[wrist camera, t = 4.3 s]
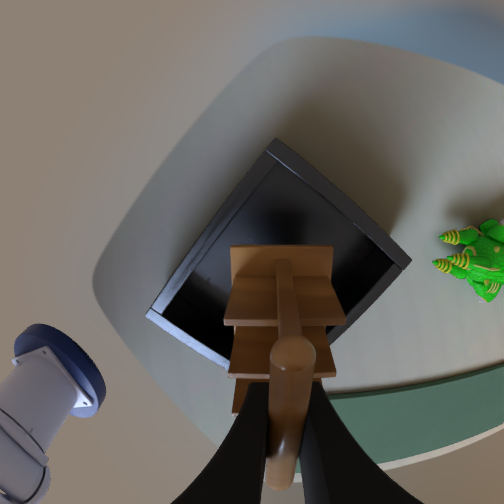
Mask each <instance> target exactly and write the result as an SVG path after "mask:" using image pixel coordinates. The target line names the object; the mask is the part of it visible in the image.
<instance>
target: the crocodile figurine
mask: <svg viewBox="0 0 504 504" xmlns="http://www.w3.org/2000/svg"><path fill="white" fill-rule="evenodd" d="M470 227H472V228H474V229H471V228H470ZM479 228H480V230H481V232H480V231H479V230H477V229H476V228H475V227H473V226H469V227H466V228H465V229H461V230H460V231H457V230H456V229H453V230H452V231H449V232H448V231H446V232H445V233H443V234H442V235H440V236H439V238H440V239H442V240H443V241H444V242H447V243H450V244H454V245H457V244H458V243H462V244H466V246H465V248H464V250H463V253H460V254H458V253H457V254H452V256H447V259H436V260H435V261H432V263H433V264H434V265H435V267H437V269H439V270H440V271H442V272H443V273H450V274H452V275H453V276H455V277H456V278H460V279H464V278H466V279H467V281H468V282H469V284H470V285H471V286H473V287H474V289H475V291H476V293H477V294H478V295H477V298H478V300H479V301H480V302H482V303H484V302H490V301H492V300H493V299H494V298H495V297H496V295H497V294H498V292H499V290H500V289H501V286H502V285H504V218H503V219H501V220H500V221H499V223H498V222H497V221H496V220H494V219H491V220H488V221H486V222H484V223H483V224H482V225H481V226H480V227H479ZM466 229H467V230H466ZM462 230H463V231H462ZM477 231H478V232H477ZM479 234H480V236H481V237H479Z"/></svg>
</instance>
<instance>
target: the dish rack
mask: <svg viewBox="0 0 504 504" xmlns="http://www.w3.org/2000/svg"><path fill="white" fill-rule="evenodd" d="M333 249H334V248H333V246H332V245H231V247H230V256H231V279H232V289H231V292H230V296H229V300H228V304H227V308H226V312H225V316H224V325H225V326H234V342H233V347H232V353H231V358H230V364H229V370H228V377H229V378H236V385H235V392H234V399H233V407H232V416H235V417H237V415H238V413H239V411H240V409H241V406H242V404H243V402H244V399H245V396H246V393H247V390H248V385H249V384H250V383H251V382H269V406H268V433H267V457H266V477H265V480H266V484H267V485H268V487H269V488H271V489H273V490H276V491H282V490H285V489H287V488H289V487H290V486H291V484H292V483H293V479H294V475H295V470H296V466H297V461H298V457H299V452H300V447H301V443H302V438H303V432H304V427H305V422H306V417H307V411H308V405H309V399H310V393H311V387H312V381H319V382H320V383H321V384H322V380H321V378H326V377H336V368H335V364H334V360H333V357H332V353H331V349H330V346H329V342H328V339H327V335H326V332H325V327H326V326H330V325H345V324H346V316H345V314H344V312H343V309H342V307H341V305H340V302H339V300H338V298H337V295H336V293H335V291H334V289H333V286H332V284H331V273H332V262H333ZM322 387H323V385H322Z"/></svg>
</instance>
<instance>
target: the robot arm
mask: <svg viewBox="0 0 504 504" xmlns="http://www.w3.org/2000/svg"><path fill="white" fill-rule="evenodd" d="M12 362H13V364H14V365H15V366H16V368H15V369H14V370H13V371H12V372H11V373H10V374H9V375H8V376H7V377H6V378H5V380H4V381H3V382H2V383H1V384H0V489H1V490H2V491H4V492H5V493H6V494H2V493H0V504H38V503H39V502H40V501H41V500H42V499H43V498H44V496H45V495H46V493H47V491H48V489H49V486H50V481H51V477H50V470H49V468H48V466H47V465H46V463H47V462H48V460H49V458H48V457H47V456H46V455H45V453H46V451H47V449H48V447H49V446H50V444H51V442H52V441H53V439H54V438H55V436H56V434H57V433H58V431H59V429H60V428H61V426H62V425H63V423H64V421H65V420H66V418H67V416H68V415H69V413H70V412H71V410H72V409H73V408H75V407H86V406H92V405H93V401H92V400H91V399H90V398H89V396H88V395H87V394H86V393H85V392H84V391H83V389H82V388H81V387H80V386H79V385H78V384H77V382H76V381H75V380H74V379H73V377H72V376H71V375H70V374H69V372H68V371H67V370H66V369H65V367H64V366H63V365H62V363H61V362H60V361H59V359H58V358H57V357H56V355H55V354H54V353H53V351H52V350H51V348H50V347H48V346H44V347H41V348H38V349H36V350H33V351H30V352H28V353H25V354H22V355H20V356H17V357H14V358H13V359H12ZM268 406H269V382H251V383H250V384H249V385H248V390H247V393H246V396H245V399H244V402H243V404H242V406H241V409H240V411H239V413H238V415H237V417H236V419H235V421H234V423H233V425H232V427H231V429H230V431H229V433H228V434H227V436H226V438H225V439H224V441H223V442H222V444H221V446H220V447H219V449H218V450H217V452H216V453H215V455H214V456H213V458H212V459H211V460H210V462H209V463H208V464H207V466H206V467H205V468H204V469H203V471H202V472H201V473H200V474H199V475H198V476H197V478H196V479H195V480H194V481H193V482H192V483H191V484H190V485H189V486H188V488H187V489H186V490H185V491H184V492H183V493H182V494H181V495H180V496H178V497H177V498H176V499H175V500H174V501H173V502H172V503H171V504H260V502H261V492H262V485H263V479H264V472H265V464H266V457H267V433H268ZM299 461H300V468H301V474H302V481H303V488H304V497H305V504H424V503H422V502H421V501H419V500H418V499H416V498H415V497H414V496H412V495H411V494H409V493H408V492H407V491H405V490H404V489H403V488H402V487H401V486H399V485H398V484H397V483H396V482H395V481H393V480H392V479H391V478H390V477H389V476H388V475H387V474H386V473H385V472H384V471H383V470H382V469H380V468H379V467H378V465H377V464H376V463H375V462H374V461H373V460H372V459H371V458H370V457H369V456H368V455H367V453H366V452H365V451H364V450H363V449H362V447H361V446H360V445H359V444H358V442H357V441H356V440H355V439H354V437H353V436H352V434H351V433H350V432H349V430H348V429H347V427H346V426H345V424H344V423H343V421H342V420H341V418H340V417H339V415H338V414H337V412H336V411H335V409H334V407H333V405H332V404H331V402H330V400H329V398H328V396H327V395H326V393H325V391H324V389H323V387H322V384H321V383H320V382H319V381H312V387H311V393H310V399H309V405H308V411H307V417H306V422H305V427H304V432H303V438H302V443H301V447H300V452H299Z"/></svg>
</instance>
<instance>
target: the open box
mask: <svg viewBox="0 0 504 504" xmlns="http://www.w3.org/2000/svg"><path fill="white" fill-rule="evenodd" d="M231 245H332V246H333V248H334V249H333V262H332V273H331V284H332V286H333V289H334V291H335V293H336V295H337V298H338V300H339V302H340V305H341V307H342V309H343V312H344V314H345V316H346V324H345V325H330V326H326V327H325V332H326V335H327V339H328V342H329V346H330V345H331V344H332V343H333V342H334V341H335V340H336V339H337V338H338V337H339V336H341V335H342V334H343V333H344V332H345V331H346V330H347V329H348V328H349V327H350V326H351V325H352V324H353V323H354V322H355V321H356V320H357V319H358V318H359V317H360V316H361V315H362V314H363V313H364V312H365V311H366V310H367V309H368V308H369V307H370V306H371V305H372V304H373V303H374V302H375V301H376V300H377V299H378V298H379V296H380V295H381V294H382V293H383V292H384V291H385V290H386V289H387V288H388V287H389V286H390V285H391V284H392V282H393V281H394V280H395V279H396V278H397V277H398V276H399V275H400V273H401V272H402V270H404V269H405V268H406V267H407V266H408V265H409V264H410V262H411V261H412V259H411V258H410V257H409V256H408V255H407V254H406V253H405V252H404V251H403V250H402V249H401V247H400V246H399V245H398V244H397V243H396V242H395V241H394V240H393V239H392V238H391V237H390V236H389V235H388V234H387V233H386V232H385V231H384V230H383V229H382V228H380V227H379V226H378V225H377V224H376V223H375V222H374V221H373V220H372V219H371V218H370V217H369V216H368V215H367V214H366V213H365V212H364V211H363V210H362V209H360V208H359V207H358V206H357V205H356V204H355V203H354V202H353V201H352V200H351V199H350V198H348V197H347V196H346V195H345V194H344V193H343V192H342V191H341V190H339V189H338V188H337V187H336V186H335V185H334V184H333V183H331V182H330V181H329V180H328V179H327V178H326V177H324V176H323V175H322V174H321V173H320V172H319V171H317V170H316V169H315V168H314V167H313V166H311V165H310V164H309V163H308V162H306V161H305V160H304V159H303V158H302V157H300V156H299V155H298V154H297V153H295V152H294V151H293V150H292V149H290V148H289V147H288V146H286V145H285V144H284V143H283V142H281V141H280V140H279V139H277V138H274V140H273V141H272V142H271V143H270V145H269V146H268V147H267V148H266V150H265V151H264V152H263V153H262V155H261V156H260V157H259V158H258V160H257V161H256V162H255V163H254V165H253V166H252V167H251V169H250V170H249V171H248V172H247V174H246V175H245V176H244V178H243V179H242V180H241V181H240V183H239V184H238V185H237V187H236V188H235V189H234V191H233V192H232V193H231V195H230V196H229V197H228V198H227V200H226V201H225V202H224V204H223V205H222V206H221V208H220V209H219V210H218V212H217V213H216V214H215V216H214V217H213V219H212V220H211V221H210V223H209V224H208V225H207V227H206V228H205V229H204V231H203V232H202V234H201V235H200V236H199V238H198V239H197V240H196V242H195V243H194V245H193V246H192V247H191V249H190V250H189V252H188V253H187V254H186V256H185V257H184V259H183V260H182V261H181V263H180V264H179V266H178V267H177V269H176V270H175V271H174V273H173V274H172V276H171V277H170V279H169V280H168V282H167V283H166V284H165V286H164V287H163V289H162V290H161V292H160V293H159V295H158V296H157V298H156V299H155V301H154V302H153V304H152V305H151V307H150V308H149V310H148V311H147V313H146V314H145V317H147V318H148V319H149V320H151V321H152V322H154V323H155V324H156V325H158V326H159V327H161V328H162V329H164V330H165V331H167V332H168V333H170V334H171V335H172V336H174V337H175V338H177V339H178V340H180V341H181V342H183V343H185V344H186V345H188V346H189V347H191V348H192V349H194V350H195V351H197V352H199V353H200V354H202V355H203V356H205V357H206V358H208V359H210V360H211V361H213V362H215V363H216V364H218V365H220V366H221V367H223V368H225V369H226V370H229V364H230V358H231V353H232V347H233V342H234V326H225V325H224V316H225V312H226V308H227V304H228V300H229V296H230V292H231V289H232V279H231V256H230V247H231Z"/></svg>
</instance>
